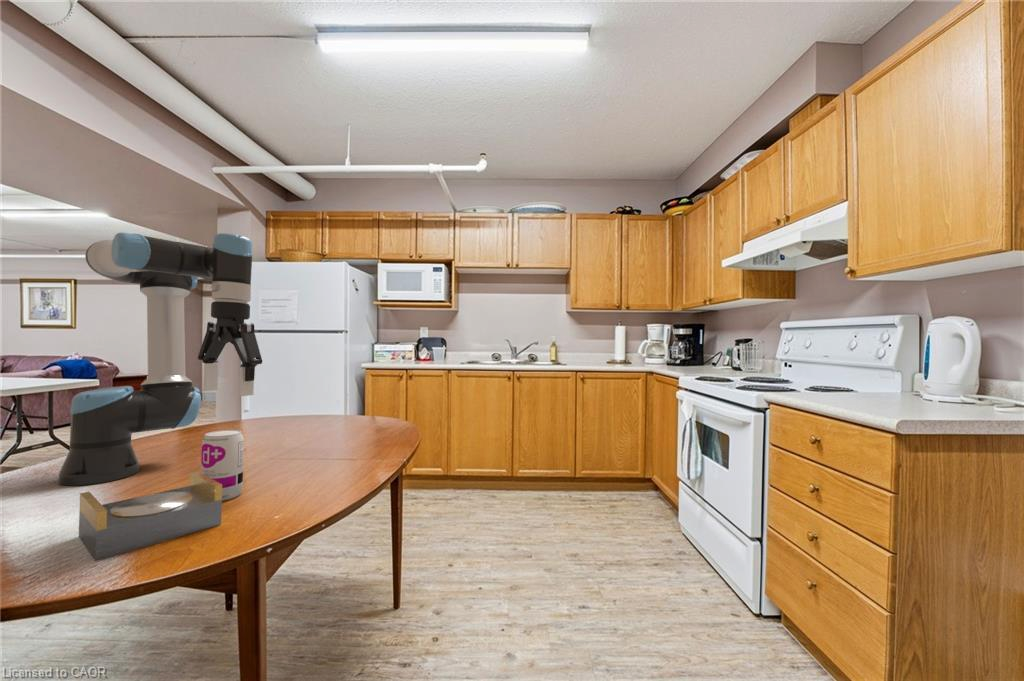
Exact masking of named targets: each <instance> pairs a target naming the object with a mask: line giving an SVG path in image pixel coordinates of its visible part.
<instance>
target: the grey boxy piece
mask: <svg viewBox="0 0 1024 681" xmlns="http://www.w3.org/2000/svg"><path fill="white" fill-rule="evenodd" d="M222 503H223V501H222V484H220V483H219V482H217V481H215V480H213V479H211V478H209V477H207V476H205V475H204V474H202V473H201V471H198V470H195V471H190V472H189V485H188V486H184V487H179V488H174V489H169V490H165V491H164V490H163V491H159V492H154V493H151V494H146V495H142V496H136V497H132V498H127V499H123V500H117V501H114V502H108V503H104V504H101V502H100V500H98V499H97V498H96V497H95V496H94V495H93V494H92V492H90V491H85V492H81V493H79V512H78V513H79V516H78V538H79V539H80V541H81V543H82V544H83V545H84V547H85V548H86V549H87V551H88V553H89V554H90V556H91V557H92V558H93V560H94V561H95V562H98V561H102V560H104V559H108V558H111V557H115V556H118V555H121V554H124V553H128V552H131V551H136V550H138V549H142V548H145V547H149V546H151V545H155V544H159V543H162V542H166V541H170V540H172V539H175V538H179V537H183V536H186V535H190V534H194V533H196V532H199V531H203V530H207V529H210V528H214V527H218V526H221V525H222V505H223V504H222ZM97 560H98V561H97Z"/></svg>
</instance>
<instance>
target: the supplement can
mask: <svg viewBox="0 0 1024 681" xmlns="http://www.w3.org/2000/svg"><path fill="white" fill-rule="evenodd" d="M244 446H245V437H244V435H243V433H242V431H241V430H240V429H239V430H238V429H225V430H224V429H222V430H215V431H211V432H206V433H205V435H204V437H203V439H202V440H201V452H200V454H201V456H200V457H201V458H200V473H202V474H204V475H205V476H207V477H209V478H211V479H213V480H215V481H217V482H219V483H220V484H222V502H225V501H228V500H232V499H234V498H237V497H238V496H239V495H240V494H241V493H242V492H243V488H244V487H243V483H244V481H243V480H244V477H243V476H244V455H245V454H244V451H245V447H244Z"/></svg>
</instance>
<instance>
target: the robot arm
mask: <svg viewBox="0 0 1024 681" xmlns="http://www.w3.org/2000/svg"><path fill="white" fill-rule="evenodd" d="M252 242H253V241H252V240H251V239H250V238H248V237H246V236H243V235H239V234H234V233H225V232H222V233H221V232H220V233H216V234H215V235H214V236H213V243H212V247H210V246H203V245H198V244H193V243H187V242H181V241H174V240H169V239H163V238H157V237H151V236H146V235H142V234H139V233H129V232H118V233H116V234H115V235H114V237H113V239H104V240H100V241H97V242H94V243H92V244H91V245H89V247H88V248H87V249H86V251H85V254H84V255H85V256H84V258H85V262H86V264H87V265H88V267H89V268H90V269H91V270H93V272H95V273H96V274H98V275H100V276H102V277H104V278H107V279H109V280H113V281H116V282H121V283H126V284H127V283H128V284H134V285H135V284H137V285H139V292H140V293H142V295H144V296H145V297H146V321H147V322H146V323H147V324H146V325H147V326H146V329H147V330H146V332H147V335H146V336H147V340H146V341H147V343H146V344H147V378H146V379H145V380H144V381H142V382H141V384H140V390H134V389H135V388H134V387H133V385H132V386H131V385H120V386H110V387H109V386H108V387H101V388H95V389H90V390H86V391H82V392H79V393H76V394H75V395H74V396H73V397H72V399H71V407H70V410H69V414H70V431H69V434H70V436H69V449H68V450H69V451H68V454H67V456H66V458H65V460H64V462H63V464H62V467H61V468H60V470H59V472H58V481H57V483H58V484H60V485H62V486H85V485H86V486H87V485H95V484H101V483H109V482H113V481H117V480H121V479H125V478H128V477H131V476H133V475H135V474H137V473H139V471H140V464H139V459H138V458H137V455H136V453H135V451H134V448H133V445H132V434H134V433H136V434H137V433H143V432H144V433H145V432H152V431H154V432H155V431H161V430H170V429H171V430H173V429H174V430H175V429H177V428H183V427H188V426H190V425H191V424H193V423H194V422H195V421H196V419H197V417H198V415H199V412H200V408H201V402H202V397H201V396H202V395H201V391H200V389H199V388H198V387H196V386H193V381H192V380H191V379H190V378H189V377H187V376H186V335H185V332H186V329H185V324H186V323H185V298H186V297H188V296H189V295H190V294H191V290H193V289H196V287H197V284H198V279H199V278H200V279H203V280H209V281H210V280H211V284H212V285H211V286H210V289H211V299H213V300H214V301H212V302H211V305H210V317H211V318H213V319H216V322H215V321H208V322H207V325H206V332H205V335H204V338H203V340H202V343H201V346H200V349H199V353H198V356H197V358H198V360H199V361H202V363H203V364H204V365H203V390H202V391H203V392H208V391H209V392H211V391H218V386H219V385H218V384H219V383H218V382H219V360H218V359H219V357H220V356H221V353H222V352H223V350H224V348H226V347H225V346H226V345H227V344H228V343H230V344H232V345H233V347H234V349H235V351H236V353H237V355H238V357H239V360H240V362H241V364H240V365H239V367H240V369H239V386H238V389H239V392H238V393H239V394H238V395H239V397H247V396H253V395H254V389H255V388H254V383H255V373H256V372H255V370H256V369H255V368H256V367H257V366H258V365H262V364H263V359H262V354H261V351H260V348H259V345H258V340H257V337H256V334H255V333H256V332H255V324H254V323H252V322H245V320H250V317H251V305H250V304H249V302H251V298H252V297H251V295H252V293H251V292H252V283H251V282H252V266H253V256H254V254H253V243H252Z"/></svg>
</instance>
